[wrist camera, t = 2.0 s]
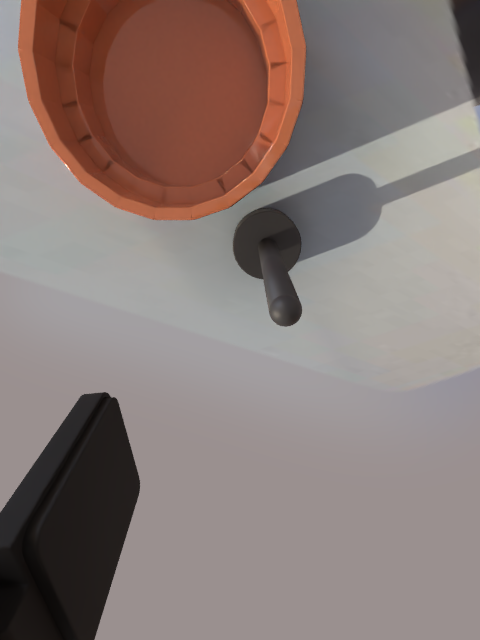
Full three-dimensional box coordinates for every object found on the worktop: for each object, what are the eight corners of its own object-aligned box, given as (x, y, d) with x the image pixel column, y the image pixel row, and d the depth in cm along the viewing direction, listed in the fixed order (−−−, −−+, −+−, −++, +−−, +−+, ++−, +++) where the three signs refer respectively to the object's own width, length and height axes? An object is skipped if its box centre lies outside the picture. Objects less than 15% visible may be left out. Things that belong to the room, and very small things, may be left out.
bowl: (198, -122, 21) (182, -221, 16) (333, 121, 26) (357, 110, 21) (20, 65, 25) (-43, 37, 20) (168, 248, 30) (150, 267, 24)
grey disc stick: (274, 194, 28) (307, 226, 14) (309, 248, 30) (373, 329, 15) (220, 234, 30) (198, 302, 15) (257, 284, 31) (270, 390, 17)
